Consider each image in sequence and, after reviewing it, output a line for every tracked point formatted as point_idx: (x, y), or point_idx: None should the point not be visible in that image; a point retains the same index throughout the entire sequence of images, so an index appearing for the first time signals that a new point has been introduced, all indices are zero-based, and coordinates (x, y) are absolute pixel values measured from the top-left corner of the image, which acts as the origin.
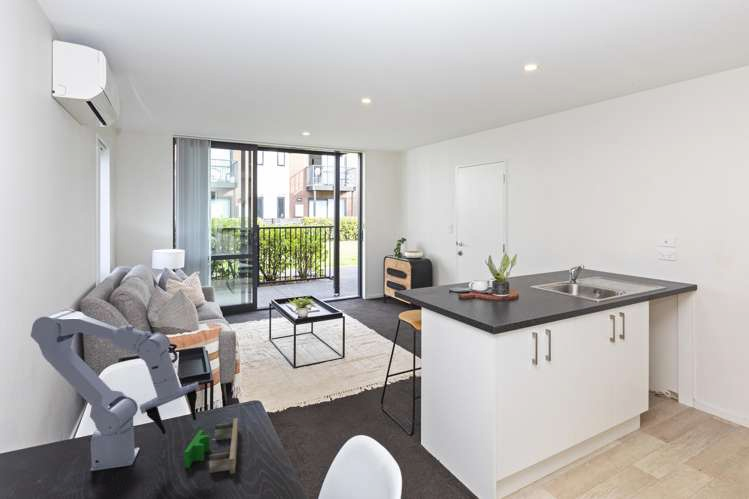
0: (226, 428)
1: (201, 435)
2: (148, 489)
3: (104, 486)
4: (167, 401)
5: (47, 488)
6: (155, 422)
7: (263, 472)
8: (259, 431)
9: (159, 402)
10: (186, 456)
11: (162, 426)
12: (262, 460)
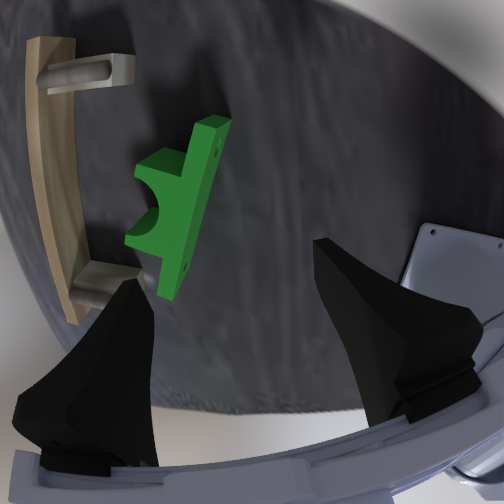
0: (92, 287)
1: (156, 254)
2: (359, 29)
3: (490, 134)
4: (293, 459)
5: None
6: (397, 285)
7: (6, 42)
8: (35, 263)
9: (397, 456)
10: (211, 122)
11: (339, 264)
12: (5, 102)
